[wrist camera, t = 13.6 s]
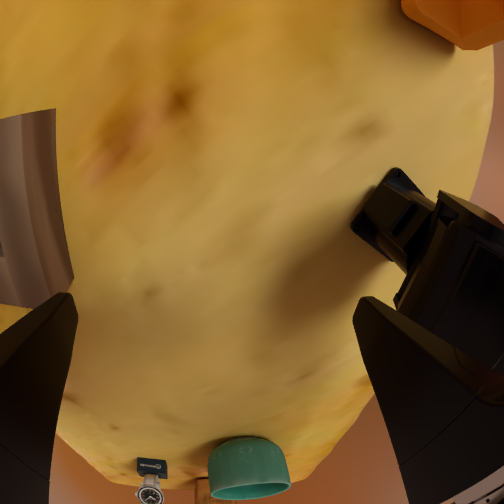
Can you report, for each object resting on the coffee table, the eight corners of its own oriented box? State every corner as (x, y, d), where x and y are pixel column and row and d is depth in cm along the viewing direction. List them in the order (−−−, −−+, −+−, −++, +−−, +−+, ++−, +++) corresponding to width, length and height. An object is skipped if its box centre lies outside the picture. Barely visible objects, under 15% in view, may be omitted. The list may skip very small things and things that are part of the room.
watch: (164, 457, 41) (165, 507, 32) (168, 468, 45) (169, 513, 36) (135, 454, 40) (133, 504, 31) (141, 465, 44) (141, 510, 35)
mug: (204, 431, 37) (208, 487, 28) (286, 425, 39) (299, 478, 30) (208, 463, 44) (212, 504, 36) (271, 459, 46) (280, 498, 38)
